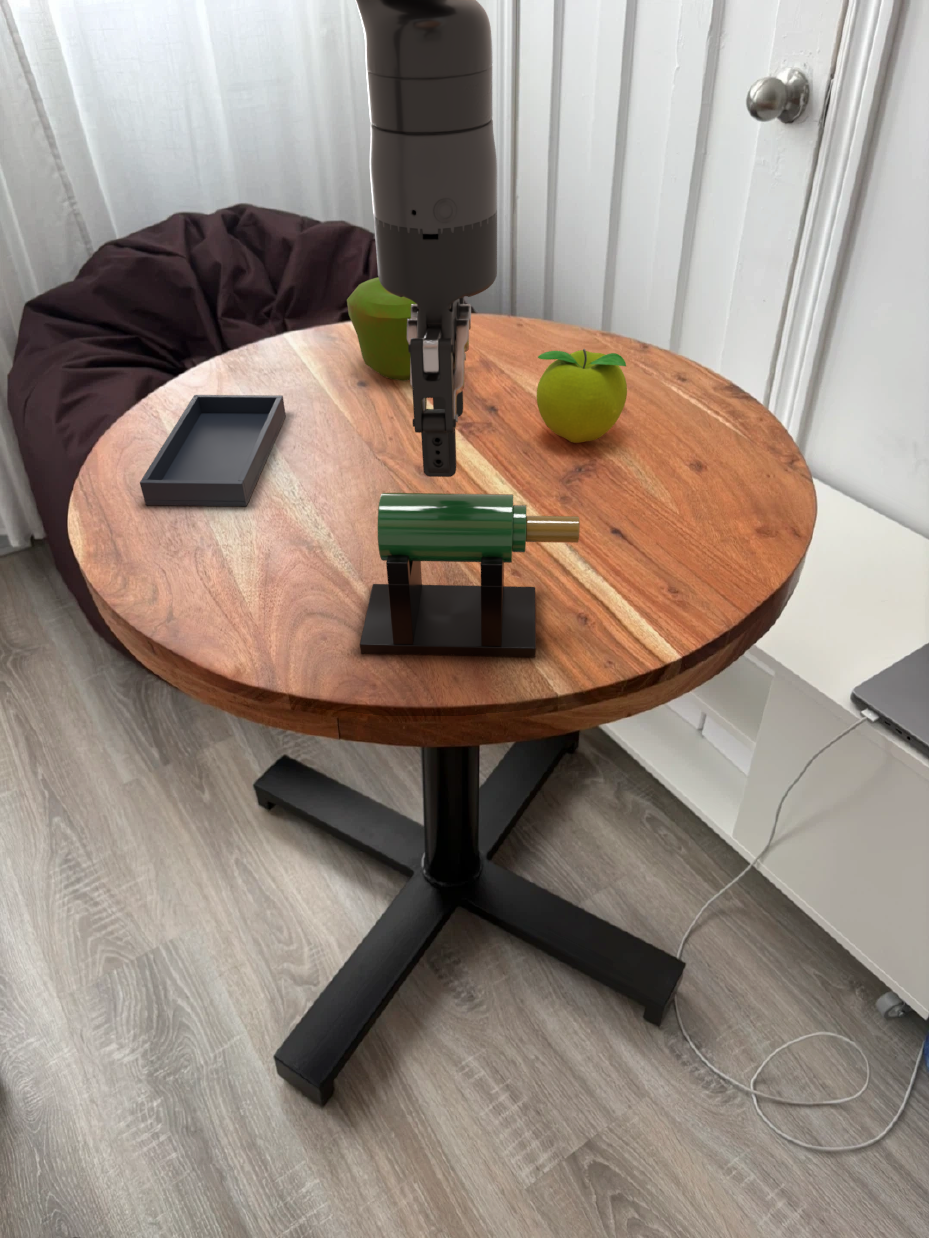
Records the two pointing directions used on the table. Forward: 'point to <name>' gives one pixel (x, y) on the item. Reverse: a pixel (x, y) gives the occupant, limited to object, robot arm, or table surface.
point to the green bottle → (463, 527)
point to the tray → (215, 451)
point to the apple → (381, 328)
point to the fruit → (581, 393)
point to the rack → (449, 614)
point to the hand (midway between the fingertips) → (444, 443)
